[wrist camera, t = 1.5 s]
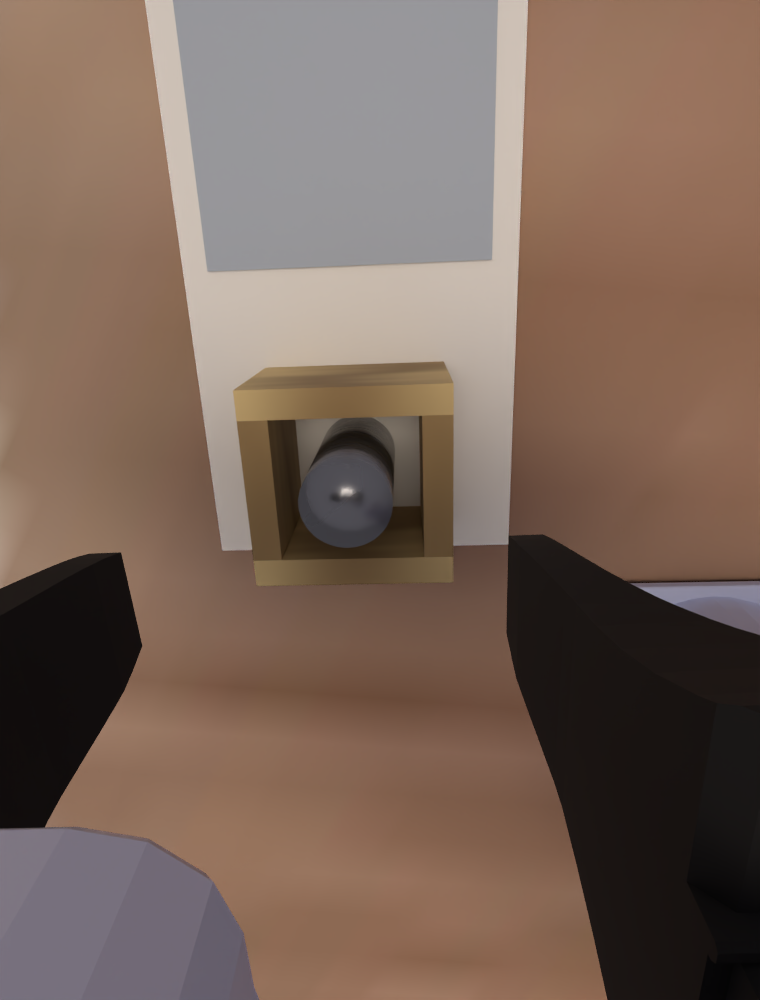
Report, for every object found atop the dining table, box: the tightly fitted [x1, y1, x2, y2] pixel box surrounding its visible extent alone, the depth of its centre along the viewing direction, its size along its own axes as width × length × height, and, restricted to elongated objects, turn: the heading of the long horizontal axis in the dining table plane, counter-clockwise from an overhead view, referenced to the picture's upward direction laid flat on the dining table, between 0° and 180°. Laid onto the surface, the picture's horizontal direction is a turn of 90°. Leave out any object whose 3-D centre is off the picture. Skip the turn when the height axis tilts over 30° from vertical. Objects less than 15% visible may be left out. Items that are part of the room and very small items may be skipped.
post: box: [298, 417, 395, 548], centre depth 18 cm, size 2×2×6 cm
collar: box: [233, 361, 454, 586], centre depth 18 cm, size 6×6×4 cm
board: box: [145, 0, 528, 551], centre depth 19 cm, size 10×17×1 cm, turn 2°
